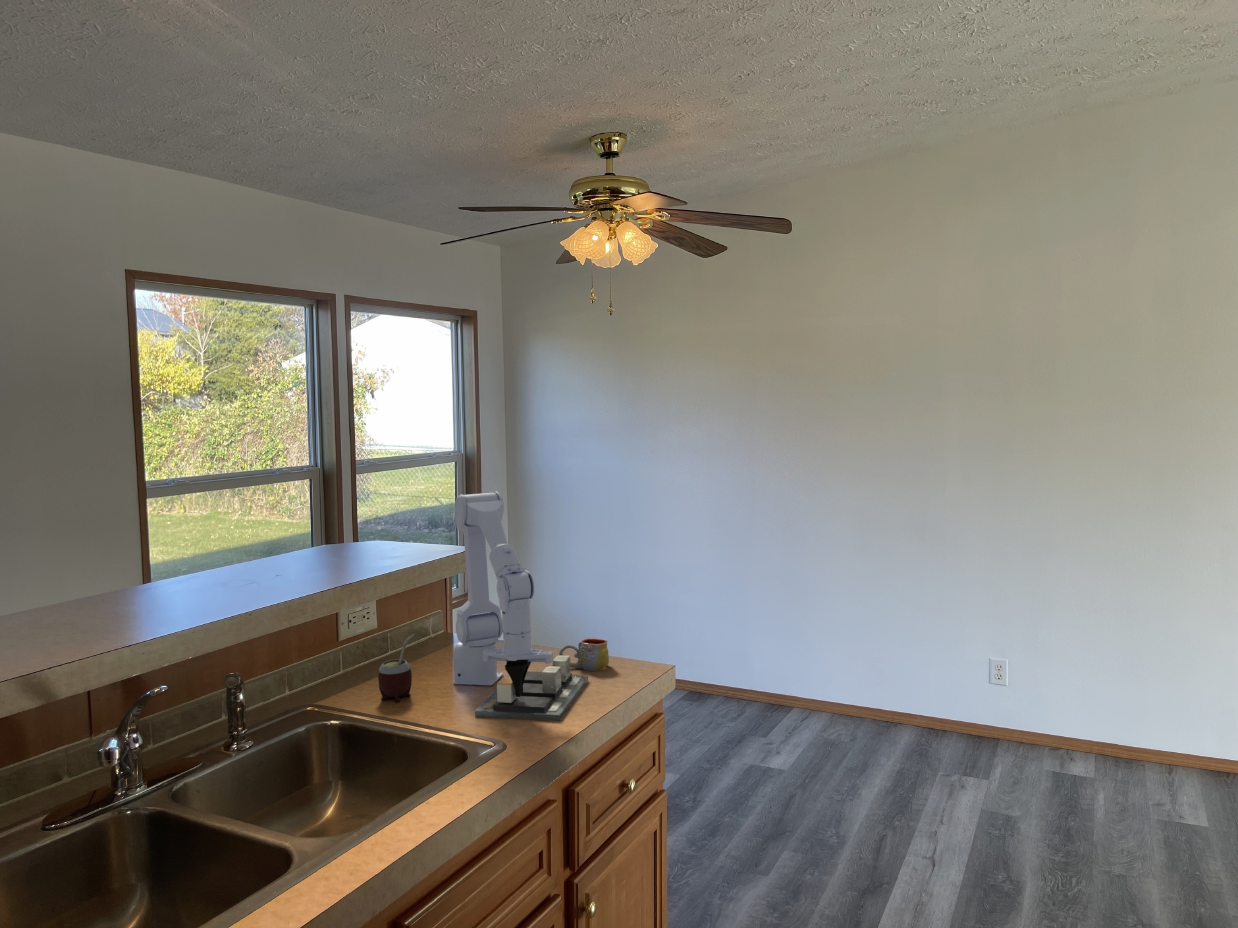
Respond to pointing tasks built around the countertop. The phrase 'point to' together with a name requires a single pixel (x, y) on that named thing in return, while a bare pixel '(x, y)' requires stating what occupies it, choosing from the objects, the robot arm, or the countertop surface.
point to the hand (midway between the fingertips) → (519, 695)
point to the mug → (590, 655)
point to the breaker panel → (539, 695)
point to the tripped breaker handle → (505, 690)
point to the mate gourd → (395, 678)
